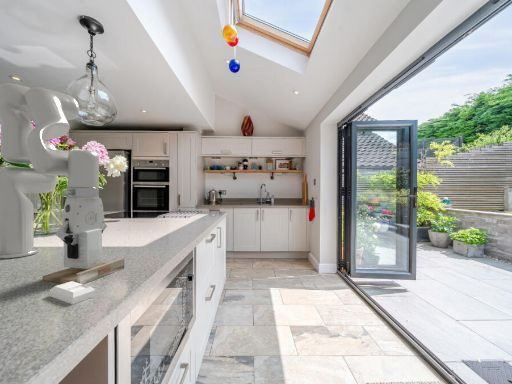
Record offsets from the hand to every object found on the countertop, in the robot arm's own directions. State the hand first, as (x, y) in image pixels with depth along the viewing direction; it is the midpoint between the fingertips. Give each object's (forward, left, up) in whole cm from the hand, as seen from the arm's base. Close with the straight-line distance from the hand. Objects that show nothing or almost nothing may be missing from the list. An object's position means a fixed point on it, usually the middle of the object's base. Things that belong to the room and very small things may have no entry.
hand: (83, 254), depth 76 cm
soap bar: (+12, -13, -6) cm, 18 cm away
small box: (0, 0, -3) cm, 3 cm away
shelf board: (+1, 0, -5) cm, 5 cm away
